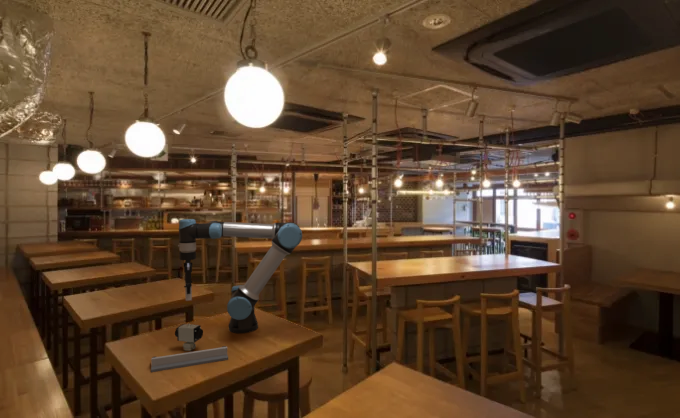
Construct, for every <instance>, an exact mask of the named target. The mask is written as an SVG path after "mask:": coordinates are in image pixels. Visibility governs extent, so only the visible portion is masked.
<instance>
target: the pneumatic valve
mask: <svg viewBox="0 0 680 418" xmlns="http://www.w3.org/2000/svg"><path fill="white" fill-rule="evenodd" d="M201 326H202V325H199V324H192V323H191V324H190V323H182V324H181V325H179V326H177V327H176V328H175V331H174V335H175V336H174V337H176V340H177V341H178V342H184V343H183V344H182V348H183V351H187V352H193V350H195V349H196V346H197V345H196V342H197V341H199V340H200V339H202V337H203V336H204V329H202V327H201Z"/></svg>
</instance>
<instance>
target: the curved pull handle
mask: <svg viewBox="0 0 680 418" xmlns="http://www.w3.org/2000/svg"><path fill="white" fill-rule="evenodd" d="M150 361H151V363H150V364H151V365H150V366H151V368H150V373H156V372H161V371H168V370H173V369H179V368H186V367H192V366H198V365H205V364H210V363H217V362H222V361H229V356H228V346H226V345H223V346H221V347H214V348H208V349H203V350H196V351H187V352H183V353H176V354H169V355H163V356H162V355H161V356H152V357H151V359H150Z"/></svg>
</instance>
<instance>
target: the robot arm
mask: <svg viewBox="0 0 680 418" xmlns="http://www.w3.org/2000/svg"><path fill="white" fill-rule="evenodd" d="M222 237H233V238H234V237H236V238H252V239H253V238H257V239H272V240H271V246H270V248H269V249H268V250H267V252H266V254H265V255H264V256H263V258H262V259H261V260H260V262H259V263H258V265H257V266H256V267H255V269H254V270H253V272H252V273H251V274H250V276H249V277H248V279H247V280H246V282H245V283H244V284H240V285H234V286H232V287H231V291H230V292H231V297H230V299H229V300H228V302H227V304H226V307H227V309H226V310H227V313H228V315H229V316H230V321H229V323H228V332H230V333H234V334H247V333H252V332H255V331H256V330H258V328H259V322H258V320H257V316H256V312H255V306H256V304H257V303H258V301H259V300H260V297H259V295H260V293H261V292H262V291H263V289H264V288H265V286H266V285H267V283H268V282H269V281H270V279H271V278H272V276H273V274H274V273H275V272H276V271H277V269H278V267H279V266H280V265H281V263H282V261H284V259H285V257H287V255H291V254H292V253H293V252H294V250H295V249H296V247H298V246H299V245H300V244H301V242H302V240H303V231H302V229H301V227H300V226H299V225H298V223H295V222H292V221H286V222H274V223H255V222H251V223H250V222H236V221H235V222H234V221H233V222H232V221H218V220H211V221H209V222H203V223H199V222H198V223H197V221H196V219H193V218H191V219H190V218H186V219H183V218H182V219H180V220H179V222H178V238H179V239H178V240H179V243H178V245H177V247H178V249H179V253H178V254H179V257H178V258H179V260H180V261H184V262H183V269H184V270H183V272H184V273H185V274H184V275H185V277H184V278H185V280H184V283H185V284H184V286H183V288H184V289H185V292H184V294H185V301H186V302H188V301H193V298H192V297H193V295H192V294H193V293H192V292H193V290H192V286H193V284H192V283H193V280H192V273H193V262H191V260H192V261H193V260H196V259H197V251H196V250H197V240H201V239H202V240H203V239H204V240H205V239H207V240H208V239H209V240H210V239H211V240H215V239H221V238H222Z"/></svg>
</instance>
